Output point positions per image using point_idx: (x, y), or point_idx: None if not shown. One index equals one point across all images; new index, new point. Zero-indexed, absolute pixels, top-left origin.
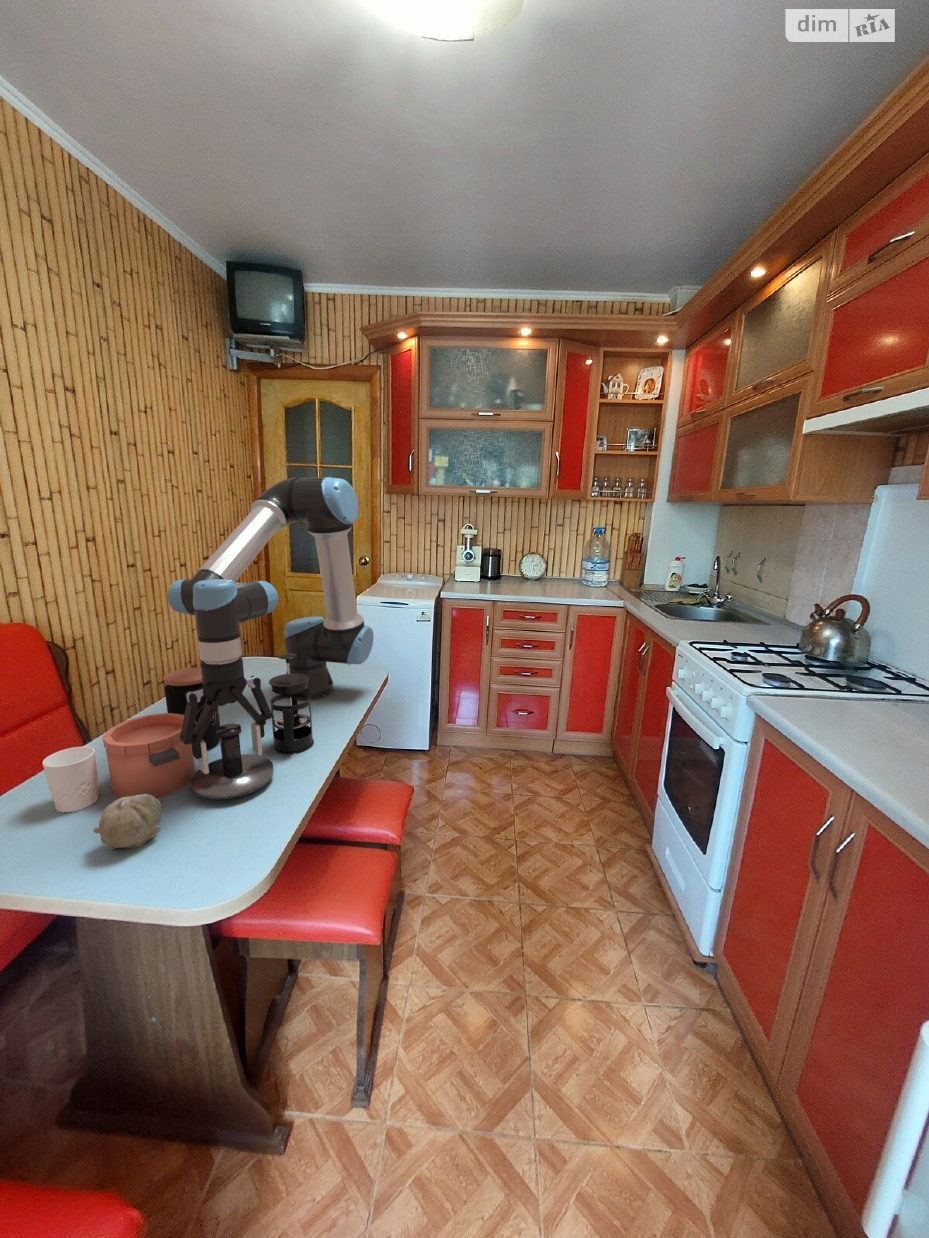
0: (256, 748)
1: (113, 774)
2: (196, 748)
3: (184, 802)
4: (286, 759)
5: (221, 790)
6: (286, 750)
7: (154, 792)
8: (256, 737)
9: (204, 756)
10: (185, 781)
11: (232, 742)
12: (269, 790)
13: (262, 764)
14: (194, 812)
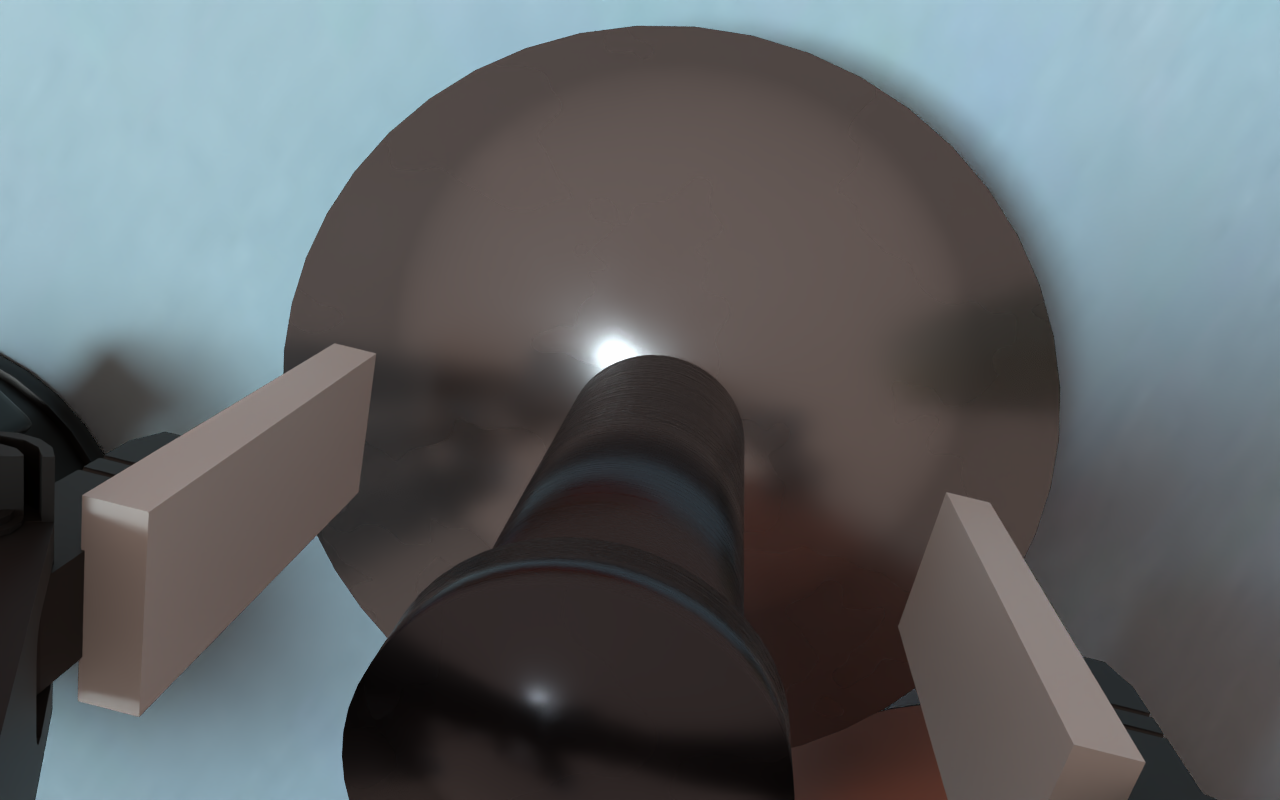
0: (341, 421)
1: None
2: (1162, 770)
3: (1066, 515)
4: (136, 356)
5: (942, 247)
6: (58, 446)
7: None
8: (261, 456)
9: (1038, 617)
10: (896, 734)
11: (646, 527)
12: (550, 25)
13: (386, 326)
14: (1139, 311)
